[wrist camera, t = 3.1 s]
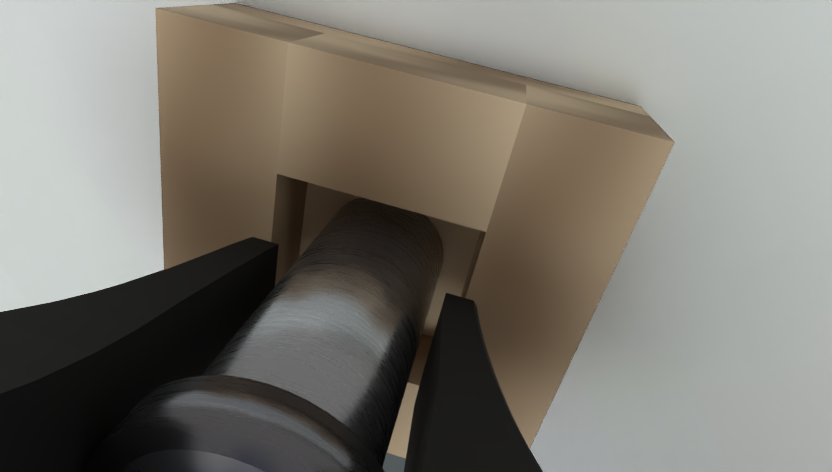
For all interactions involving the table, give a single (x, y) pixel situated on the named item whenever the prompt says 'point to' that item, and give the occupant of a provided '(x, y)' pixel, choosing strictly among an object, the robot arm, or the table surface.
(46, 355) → the robot arm
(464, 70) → the mount
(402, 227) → the pin
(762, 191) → the table surface
